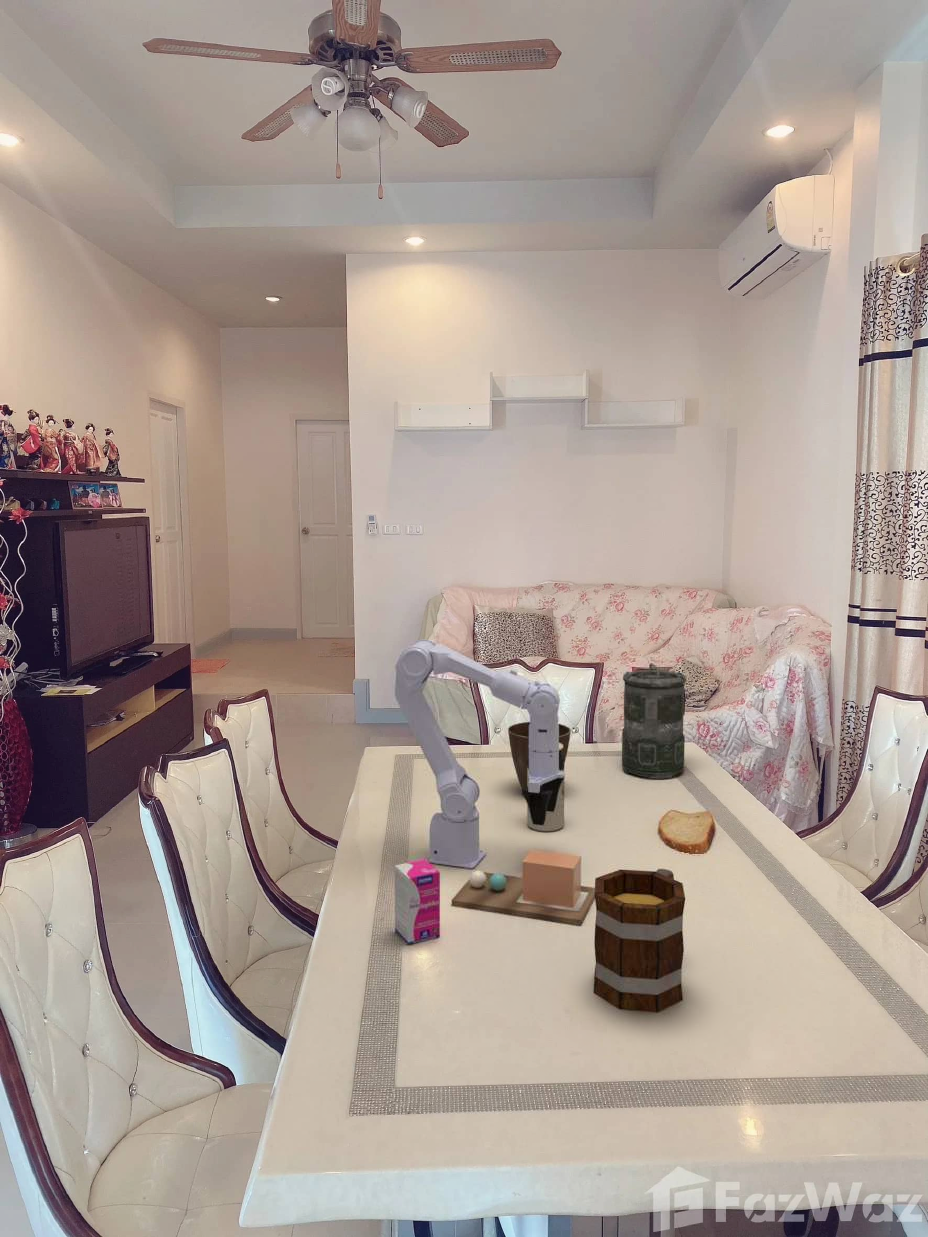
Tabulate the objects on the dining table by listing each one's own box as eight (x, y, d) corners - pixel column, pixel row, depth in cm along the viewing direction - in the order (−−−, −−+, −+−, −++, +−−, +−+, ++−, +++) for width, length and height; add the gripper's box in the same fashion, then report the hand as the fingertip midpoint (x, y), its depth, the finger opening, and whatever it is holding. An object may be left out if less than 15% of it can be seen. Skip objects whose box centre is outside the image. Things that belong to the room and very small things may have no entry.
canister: (614, 763, 238) (615, 660, 234) (671, 760, 240) (673, 658, 236) (631, 781, 222) (633, 671, 219) (693, 778, 224) (695, 669, 220)
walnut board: (451, 905, 155) (451, 899, 155) (476, 876, 167) (476, 870, 167) (580, 926, 147) (580, 919, 147) (597, 893, 159) (597, 887, 159)
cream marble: (467, 889, 159) (467, 873, 159) (472, 882, 162) (472, 866, 162) (483, 891, 158) (482, 875, 158) (488, 884, 161) (488, 869, 161)
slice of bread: (692, 859, 175) (692, 841, 174) (629, 831, 190) (630, 814, 189) (754, 840, 184) (754, 823, 184) (690, 815, 199) (690, 799, 199)
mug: (666, 1024, 119) (668, 918, 118) (575, 995, 127) (575, 895, 125) (710, 959, 136) (712, 866, 134) (626, 937, 143) (628, 848, 141)
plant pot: (580, 790, 216) (581, 726, 214) (553, 808, 204) (553, 740, 201) (526, 780, 224) (526, 718, 222) (496, 797, 212) (496, 732, 209)
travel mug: (522, 829, 191) (522, 748, 188) (533, 817, 198) (533, 738, 196) (558, 834, 188) (558, 751, 185) (568, 821, 195) (568, 742, 193)
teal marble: (487, 892, 158) (487, 876, 158) (492, 885, 161) (492, 869, 160) (503, 894, 157) (503, 878, 157) (508, 887, 160) (508, 871, 159)
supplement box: (408, 946, 141) (407, 877, 140) (394, 931, 146) (392, 864, 145) (441, 938, 144) (440, 870, 142) (426, 923, 149) (424, 857, 147)
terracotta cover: (522, 900, 154) (522, 861, 153) (531, 887, 160) (531, 849, 159) (573, 907, 151) (573, 868, 150) (580, 894, 156) (581, 856, 156)
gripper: (554, 761, 161) (554, 833, 163) (573, 741, 175) (572, 807, 177) (517, 757, 164) (517, 828, 166) (538, 738, 177) (538, 803, 179)
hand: (543, 817), depth 171 cm, fingers open, 7 cm apart
